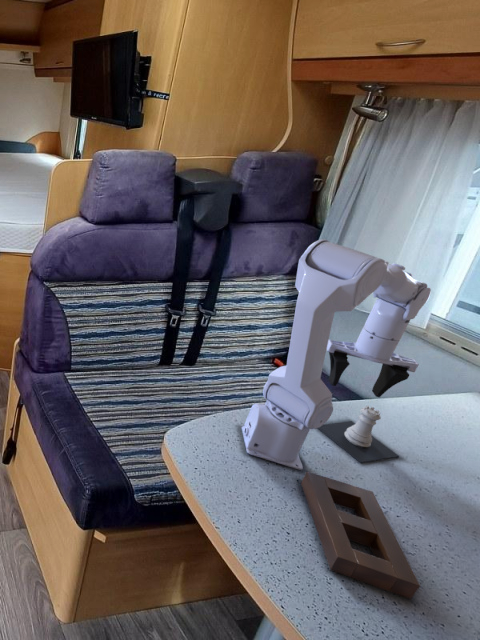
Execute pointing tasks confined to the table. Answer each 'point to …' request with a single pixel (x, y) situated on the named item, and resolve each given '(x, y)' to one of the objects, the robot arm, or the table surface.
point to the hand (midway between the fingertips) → (353, 388)
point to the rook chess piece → (363, 428)
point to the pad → (359, 453)
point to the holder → (357, 535)
